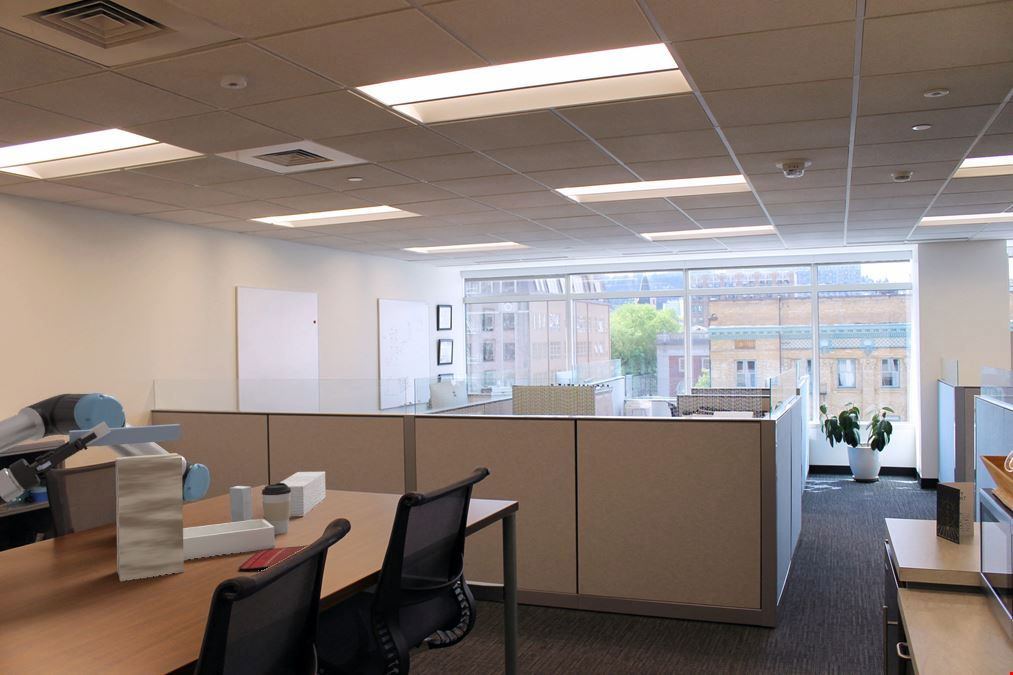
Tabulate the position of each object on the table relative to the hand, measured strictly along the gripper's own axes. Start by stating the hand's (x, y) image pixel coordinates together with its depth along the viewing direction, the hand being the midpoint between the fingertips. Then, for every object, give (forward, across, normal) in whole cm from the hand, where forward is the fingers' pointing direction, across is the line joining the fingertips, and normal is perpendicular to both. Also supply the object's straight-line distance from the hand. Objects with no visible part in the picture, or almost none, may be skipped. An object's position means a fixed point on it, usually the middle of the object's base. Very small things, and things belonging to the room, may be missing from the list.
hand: (107, 426), depth 207 cm
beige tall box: (-11, 0, -38) cm, 40 cm away
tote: (+4, -14, -47) cm, 49 cm away
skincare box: (+17, -47, -55) cm, 74 cm away
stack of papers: (+38, -62, -67) cm, 98 cm away
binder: (+16, +8, -55) cm, 58 cm away
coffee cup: (+23, -27, -58) cm, 68 cm away
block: (+1, 0, -6) cm, 6 cm away
